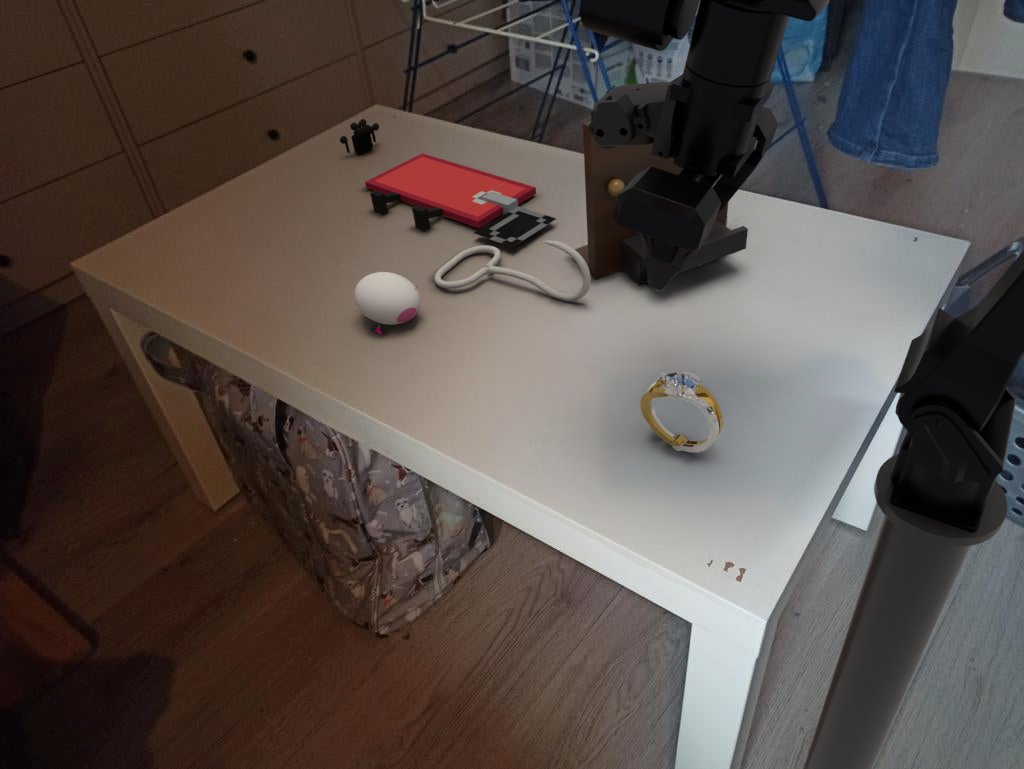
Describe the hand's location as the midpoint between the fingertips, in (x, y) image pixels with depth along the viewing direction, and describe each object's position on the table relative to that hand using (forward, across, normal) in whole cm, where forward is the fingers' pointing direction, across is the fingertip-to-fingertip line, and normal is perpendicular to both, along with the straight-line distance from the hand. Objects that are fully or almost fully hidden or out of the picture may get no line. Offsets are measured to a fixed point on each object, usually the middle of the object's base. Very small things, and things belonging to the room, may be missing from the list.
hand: (676, 259), depth 64 cm
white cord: (+19, -12, -20) cm, 30 cm away
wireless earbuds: (+26, -36, -59) cm, 74 cm away
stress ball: (+21, -2, -29) cm, 36 cm away
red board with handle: (+22, -26, -36) cm, 50 cm away
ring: (+15, +5, +6) cm, 17 cm away
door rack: (+16, -23, -6) cm, 29 cm away
